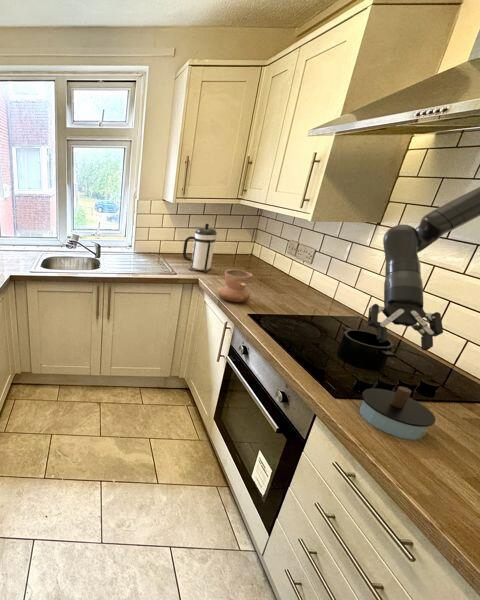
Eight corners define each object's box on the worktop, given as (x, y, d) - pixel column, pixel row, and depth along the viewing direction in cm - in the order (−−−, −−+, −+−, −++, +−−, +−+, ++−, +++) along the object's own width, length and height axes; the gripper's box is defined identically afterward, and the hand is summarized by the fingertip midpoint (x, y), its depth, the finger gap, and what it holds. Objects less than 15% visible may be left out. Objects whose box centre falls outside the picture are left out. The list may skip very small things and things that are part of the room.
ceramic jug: (255, 306, 151) (262, 278, 145) (225, 305, 151) (230, 277, 146) (239, 293, 167) (244, 267, 162) (211, 292, 168) (216, 267, 162)
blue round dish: (392, 404, 87) (399, 391, 86) (439, 440, 76) (447, 425, 74) (347, 404, 88) (353, 390, 86) (386, 439, 76) (393, 424, 74)
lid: (398, 391, 87) (406, 373, 84) (451, 429, 74) (463, 408, 72) (348, 391, 87) (355, 372, 84) (392, 428, 74) (402, 407, 72)
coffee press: (205, 266, 215) (212, 221, 203) (216, 273, 200) (224, 225, 188) (180, 266, 214) (186, 221, 202) (189, 273, 199) (196, 225, 188)
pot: (357, 346, 116) (365, 326, 113) (401, 375, 100) (412, 352, 97) (323, 346, 117) (330, 325, 113) (361, 375, 100) (371, 352, 97)
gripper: (428, 300, 87) (431, 356, 82) (364, 292, 93) (362, 343, 88) (447, 288, 81) (451, 347, 76) (376, 280, 87) (376, 335, 82)
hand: (403, 345), depth 82 cm, fingers open, 8 cm apart
